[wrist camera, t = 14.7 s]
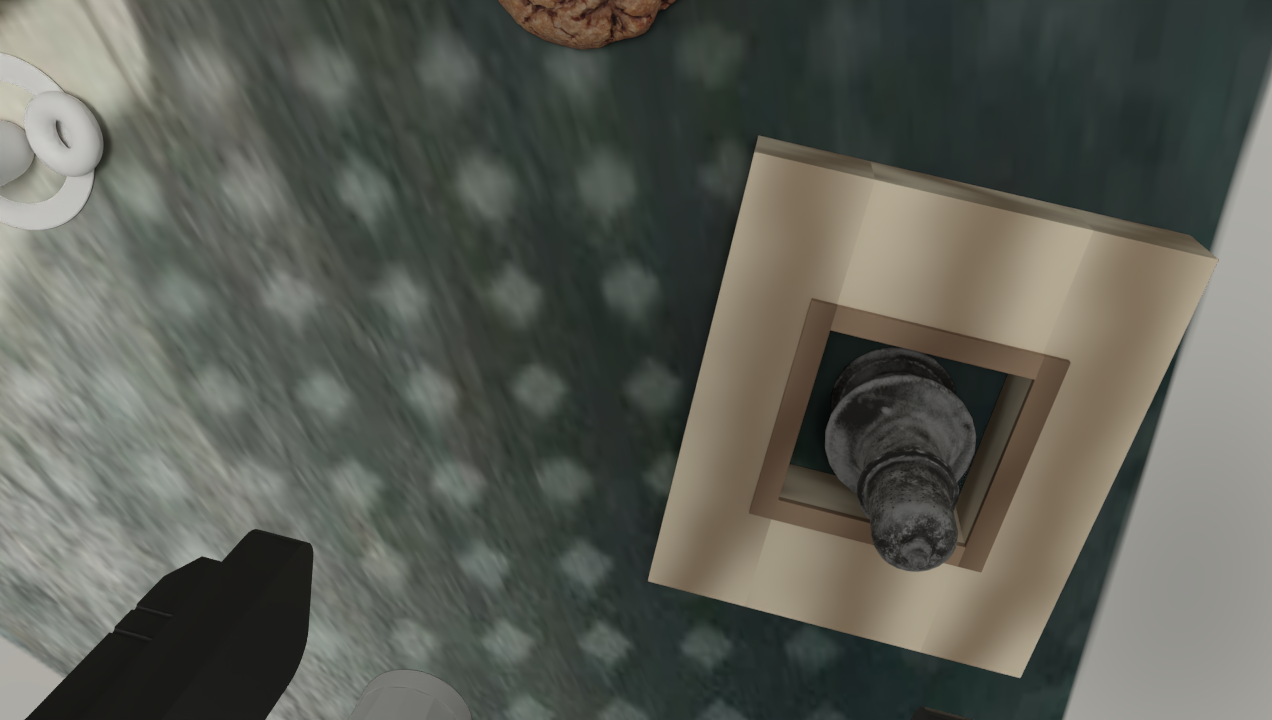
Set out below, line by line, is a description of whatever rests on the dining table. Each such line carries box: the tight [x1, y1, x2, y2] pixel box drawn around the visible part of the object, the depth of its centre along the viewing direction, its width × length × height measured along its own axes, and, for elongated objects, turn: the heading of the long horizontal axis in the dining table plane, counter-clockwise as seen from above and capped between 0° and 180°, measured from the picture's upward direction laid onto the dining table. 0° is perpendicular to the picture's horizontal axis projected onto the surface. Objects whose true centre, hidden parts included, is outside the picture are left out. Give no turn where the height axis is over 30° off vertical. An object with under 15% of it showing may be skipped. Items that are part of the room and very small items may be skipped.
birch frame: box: [648, 135, 1219, 678], centre depth 42 cm, size 17×20×3 cm
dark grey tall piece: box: [825, 347, 976, 572], centre depth 38 cm, size 6×6×12 cm
